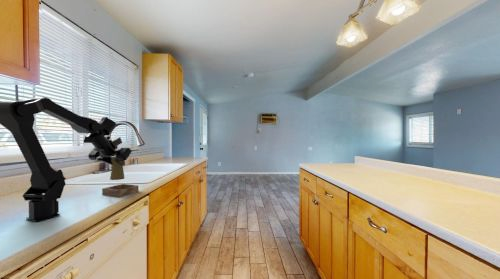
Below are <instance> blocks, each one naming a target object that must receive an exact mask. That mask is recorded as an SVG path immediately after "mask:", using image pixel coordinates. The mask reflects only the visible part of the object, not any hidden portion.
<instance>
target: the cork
mask: <svg viewBox="0 0 500 279" xmlns="http://www.w3.org/2000/svg"><path fill="white" fill-rule="evenodd" d="M115 159H116V155H114V156H111V162H112V163H113V164H112V165H111V171H110V178H109V180H110V181H120V180H124V179H125V172H124V166H123V165H121V164H119V163H117V162H115Z"/></svg>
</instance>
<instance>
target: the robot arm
mask: <svg viewBox="0 0 500 279" xmlns="http://www.w3.org/2000/svg"><path fill="white" fill-rule="evenodd" d="M40 113H44V114H46V115H49V116H50V117H53V118H55V119H57V120H59V121H61V122H63V123H65V124H67V125H69V126H70V127H71V129H72V130H73V131H75V132H77V133H78V134H88V135H85V136H84V139H83V143H84V144H91V145H92V146H93V147H94V148H92V149H91V151H90V152H89V154H88V159H89V160H91V161H98V162H101V163H105V164H108V165H111V166H112V164H113V163H112V162H111V158H112V157H114V156H116V159H115V162H117V163H119V164H121V165H123V167H124V166H125V165H126V161H127V160H128V158H129V157H130V155H131V153H132V149H131V148H130V147H120V149H118V146H119V145H122V143H123V141H122V138H121V136H110V134H112V132H113V131H114V130H115V128H116V127H117V122H116V121H114V120H112V119H111V118H109V117H108V116H103V117H102V118H101V119H100V120H99V122H98V121H97V120H96V119H93V118H90V117H86V116H82V115H79V114H77V113H75V112H73V111H71V110H70V109H68V108H66V107H63V106H62V105H60V104H58V103H56V102H54V101H52V99H51V98H48V97H44V96H43V97H33V98H30V99H23V100H9V101H8V100H7V101H5V100H4V101H3V100H2V101H0V125H1V126H2V127H3V128H5V129H6V130H7V131H9V132H10V133H11V135H12V137H13V138H14V140H15V143H16V144H17V146H18V148H19V150H20V152H21V154H22V156H23V158H24V160H25V163H26V164H27V166H28V168H29V169H30V172H31V175H30V187H29V188H27V190H26V191H25V192H24V193H23V194H22V198H23V199H24V202H25V201H26V202H27V201H28V217H26V218H25V219H26V220H28V221H31V222H35V223H38V222H42V221H45V220H49V219H51V218H52V219H53V218H56V217H59V216H61V214H60V213H59V212H60V211H59V210H60V209H59V208H60V207H59V205H60V204H59V200H58V199H60V198H61V197H62V195H63V192H64V187H65V186H66V181H65V180H67V178H66V177H65V175H64V174H63V173H64V172H63V171H62V169H55V168H53V167H52V166H51V163H50V162H49V160H48V157H47V155H46V153H45V150H44V149H43V147H42V145H41V143H40V141H39V138H38V136H37V134H36V132H35V130H34V123H35V121H36V118H35V115H37V114H40ZM117 149H118V150H117Z"/></svg>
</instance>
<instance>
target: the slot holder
mask: <svg viewBox="0 0 500 279" xmlns="http://www.w3.org/2000/svg"><path fill="white" fill-rule="evenodd" d="M101 190H102V192H101V193H102V194H101V195H102V196H106V197H107V196H108V197H113V198H114V197H115V198H121V196H122V197H125V196H128V194H129V195H132V194H135V193H138V192H139V185H137V184H128V183H127V184H126V183H121V184H116V185H112V186H107V187H103V188H102V189H101ZM124 195H125V196H124Z"/></svg>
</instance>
